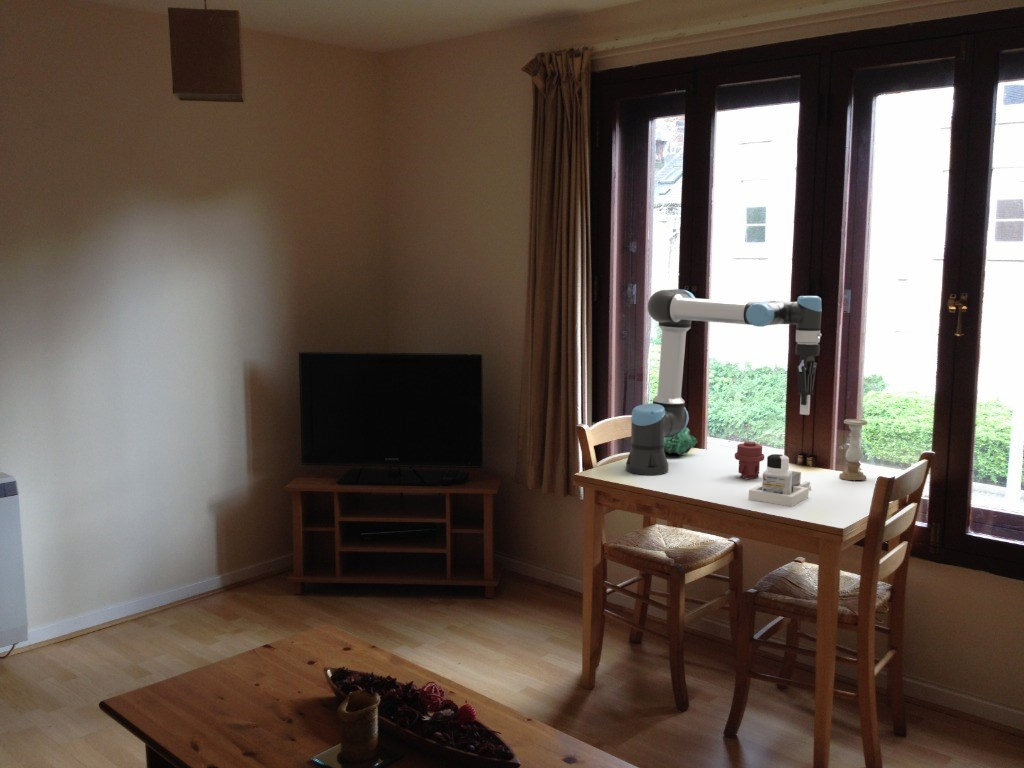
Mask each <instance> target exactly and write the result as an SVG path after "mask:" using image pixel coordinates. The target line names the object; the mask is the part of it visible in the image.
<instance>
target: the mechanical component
mask: <svg viewBox="0 0 1024 768" xmlns="http://www.w3.org/2000/svg"><path fill="white" fill-rule="evenodd" d="M736 449H737V452H735V453H734V459H735V460H737V461H738V473H739V474H740V475H741V476H742V478H743V479H744V480H749V479H759V474H760V462H763V461H764V460H765V455H764V453H763V446H762V444H758V443H756V442H754V441H744V443H738V444H737V448H736Z"/></svg>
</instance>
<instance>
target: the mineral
mask: <svg viewBox="0 0 1024 768" xmlns="http://www.w3.org/2000/svg"><path fill="white" fill-rule="evenodd" d="M697 443H698V440H697V438H696V437H694V436H693V435H691V434H690V428H689V427H688V426H686V428H685V429H684V430H683V431H682V432H680V433H679V434H677V435H674V436H669V437H665V438H664V452H665V454H667V453H668V454H672V453H674V454H677V455H678V456H679V457H681V456H683V455H684V454H687V453H688V452H690V450H691V449H693V447H695V446H696V445H697Z"/></svg>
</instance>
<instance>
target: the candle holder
mask: <svg viewBox="0 0 1024 768" xmlns="http://www.w3.org/2000/svg"><path fill="white" fill-rule="evenodd" d="M843 424H845V425H848V428H849V430H850V433H849V434H848V437H850V442H849V447H848V448H847V450H846V452H845V459H846V460H847V461H846V462H845V465H846V466H847V470H843V471H842V472H841V473H839V478H840V479H842V480H845V481H850V480H854V481H853V482H856V481H855V480H863V481H866V480H867V475H865V474H864V472H862V471H860V470H859V469H860V467H861V465H862V463H860V462H861V460H862V459H863V454H862V451H861V448H860V437H862V435H861V434H860V431H861V429H863V426H867V425H868V421H867V420H864V419H858V418H857V419H856V418H848V419H847V418H846V419H844V420H843ZM865 479H866V480H865Z"/></svg>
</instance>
